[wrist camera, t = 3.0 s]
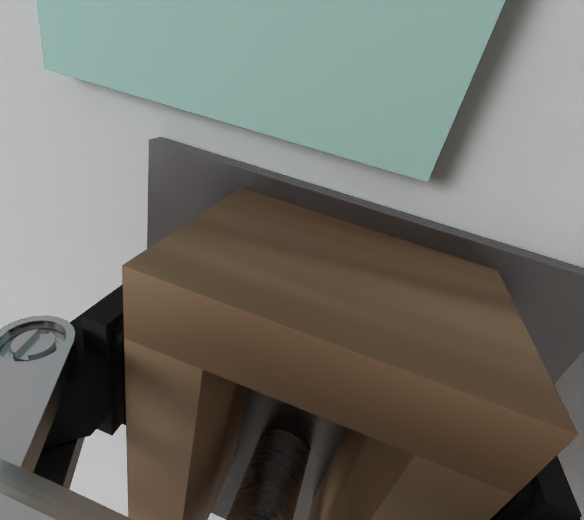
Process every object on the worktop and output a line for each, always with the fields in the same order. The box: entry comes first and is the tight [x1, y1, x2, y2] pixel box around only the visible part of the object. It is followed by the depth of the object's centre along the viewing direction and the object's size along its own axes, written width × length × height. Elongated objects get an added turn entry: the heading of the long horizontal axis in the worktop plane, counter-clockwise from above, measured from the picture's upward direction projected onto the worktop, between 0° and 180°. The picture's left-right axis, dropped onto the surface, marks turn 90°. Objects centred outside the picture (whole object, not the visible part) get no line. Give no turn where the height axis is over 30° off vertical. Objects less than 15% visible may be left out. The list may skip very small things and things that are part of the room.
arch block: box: [122, 188, 578, 520], centre depth 10 cm, size 12×7×4 cm, turn 167°
